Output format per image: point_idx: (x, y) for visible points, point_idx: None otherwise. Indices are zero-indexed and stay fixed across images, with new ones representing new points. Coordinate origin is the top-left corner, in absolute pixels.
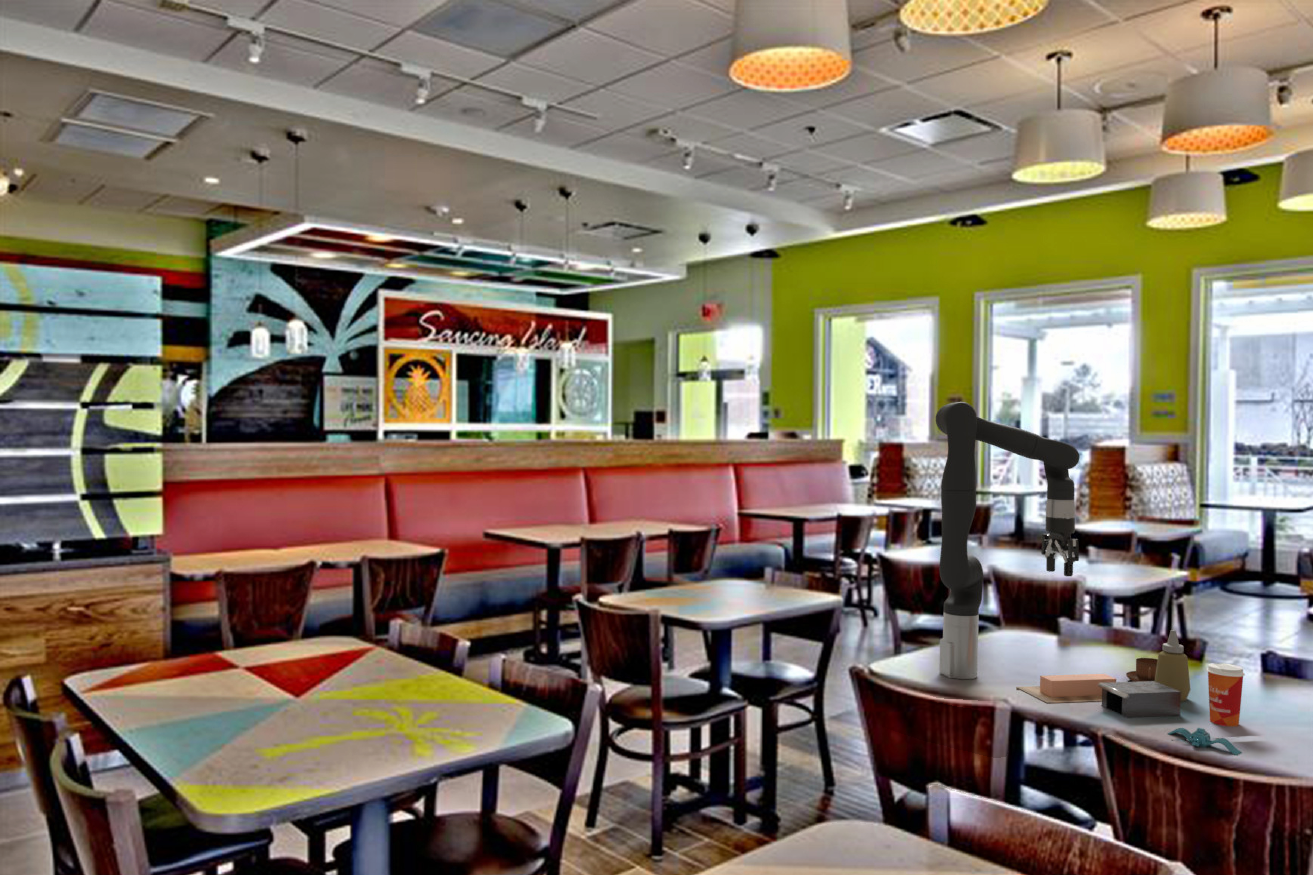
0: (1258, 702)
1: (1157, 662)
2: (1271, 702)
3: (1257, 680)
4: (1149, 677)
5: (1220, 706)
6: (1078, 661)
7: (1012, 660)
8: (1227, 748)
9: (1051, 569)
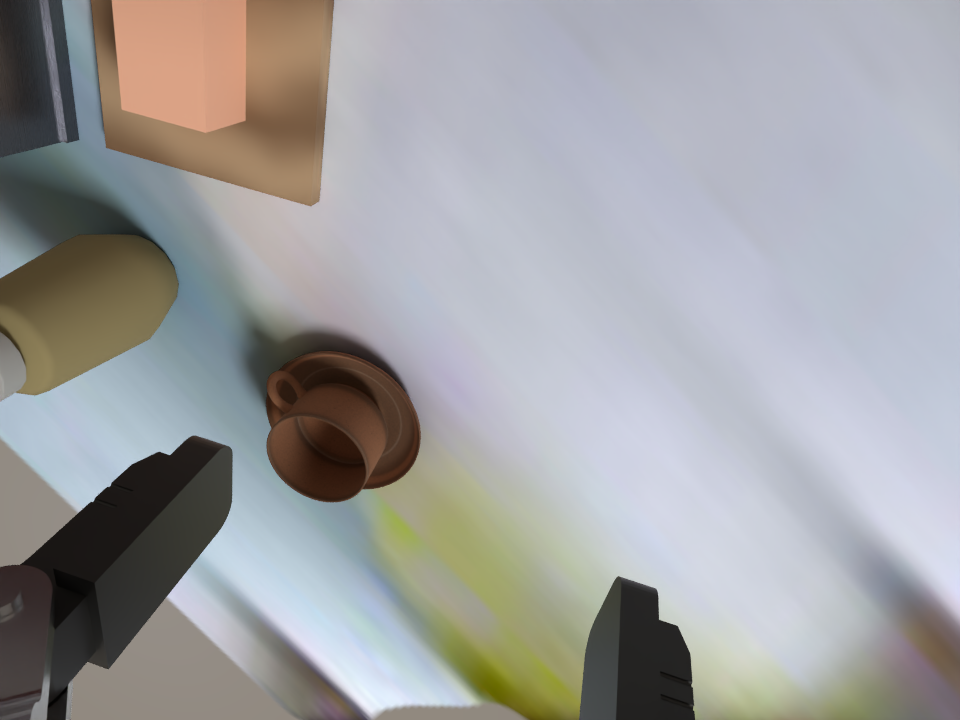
0: None
1: (60, 298)
2: None
3: (312, 655)
4: (278, 371)
5: None
6: (692, 453)
7: (892, 193)
8: None
9: (600, 627)
